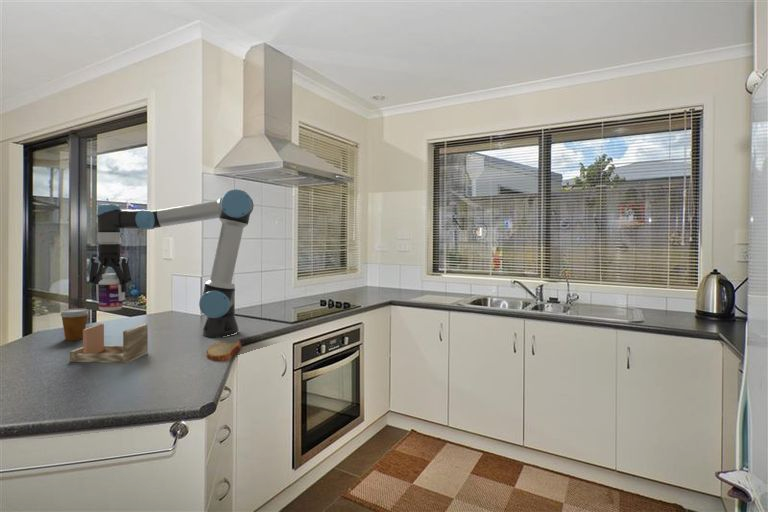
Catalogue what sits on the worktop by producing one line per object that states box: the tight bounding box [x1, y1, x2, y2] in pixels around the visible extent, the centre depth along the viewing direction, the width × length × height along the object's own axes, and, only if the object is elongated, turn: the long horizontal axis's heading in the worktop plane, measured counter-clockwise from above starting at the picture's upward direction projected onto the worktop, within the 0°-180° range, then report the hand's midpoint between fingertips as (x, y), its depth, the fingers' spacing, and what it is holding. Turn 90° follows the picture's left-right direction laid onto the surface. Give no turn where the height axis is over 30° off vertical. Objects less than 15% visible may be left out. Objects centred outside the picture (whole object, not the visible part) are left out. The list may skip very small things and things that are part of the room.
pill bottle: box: [98, 272, 124, 312], centre depth 168 cm, size 8×8×14 cm
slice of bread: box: [205, 340, 243, 362], centre depth 161 cm, size 18×18×4 cm
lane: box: [69, 323, 149, 364], centre depth 152 cm, size 20×12×11 cm, turn 90°
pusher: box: [82, 323, 105, 354], centre depth 152 cm, size 1×9×10 cm, turn 0°
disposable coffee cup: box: [59, 308, 89, 341], centre depth 176 cm, size 10×10×12 cm
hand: (110, 300), depth 168 cm, fingers closed on pill bottle, 8 cm apart
